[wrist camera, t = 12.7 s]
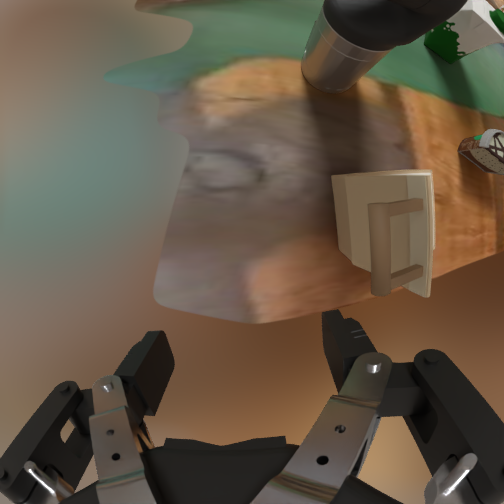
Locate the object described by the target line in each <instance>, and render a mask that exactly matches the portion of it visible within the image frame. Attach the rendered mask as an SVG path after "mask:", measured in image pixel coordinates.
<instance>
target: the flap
mask: <svg viewBox="0 0 504 504" xmlns="http://www.w3.org/2000/svg"><path fill="white" fill-rule="evenodd" d="M345 185H346V193H347V203H348V212H349V224H350V236H351V252H352V264H353V265H355V266H357V267H360V268H362V269H364V270H366V271H369V272H371V293H372V294H373V295H375V296H386V295H388V294H390V292H391V290H392V289H394V288H397V287H399V286H402V287H405V288H407V289H409V290H410V291H412V292H414V293H416V294H419V295H421V296H423V297H429V296H430V289H431V277H432V260H433V207H432V190H431V178H430V175H378V176H349V177H345Z"/></svg>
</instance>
